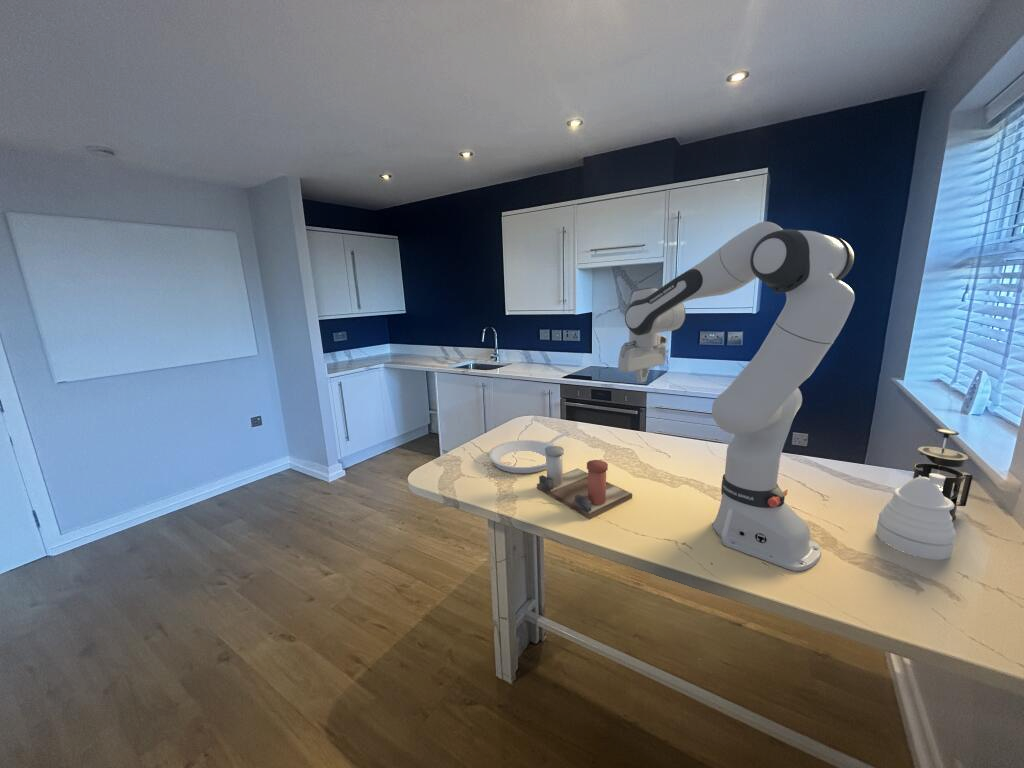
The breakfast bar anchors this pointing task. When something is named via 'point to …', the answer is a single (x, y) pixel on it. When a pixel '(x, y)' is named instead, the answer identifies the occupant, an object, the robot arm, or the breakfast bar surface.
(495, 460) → the pan
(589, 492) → the red plug
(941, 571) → the breakfast bar surface
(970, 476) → the french press
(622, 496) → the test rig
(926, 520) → the honey pot
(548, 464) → the grey plug
